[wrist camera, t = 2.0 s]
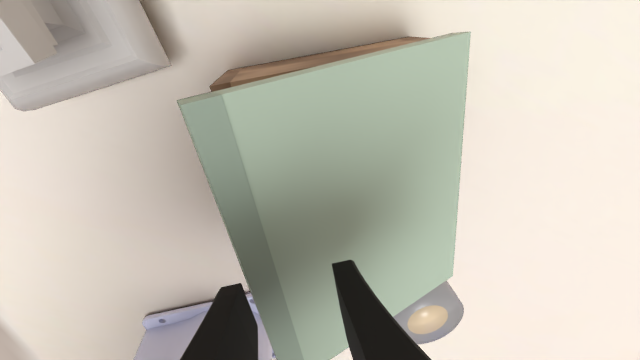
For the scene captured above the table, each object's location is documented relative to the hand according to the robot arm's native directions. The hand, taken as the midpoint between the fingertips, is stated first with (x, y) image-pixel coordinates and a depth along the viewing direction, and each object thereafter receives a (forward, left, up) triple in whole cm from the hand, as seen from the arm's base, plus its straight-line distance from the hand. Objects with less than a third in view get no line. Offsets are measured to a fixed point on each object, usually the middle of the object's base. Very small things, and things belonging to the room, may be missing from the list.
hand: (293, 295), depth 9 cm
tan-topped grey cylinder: (+7, -11, -10) cm, 17 cm away
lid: (+3, 0, -3) cm, 5 cm away
